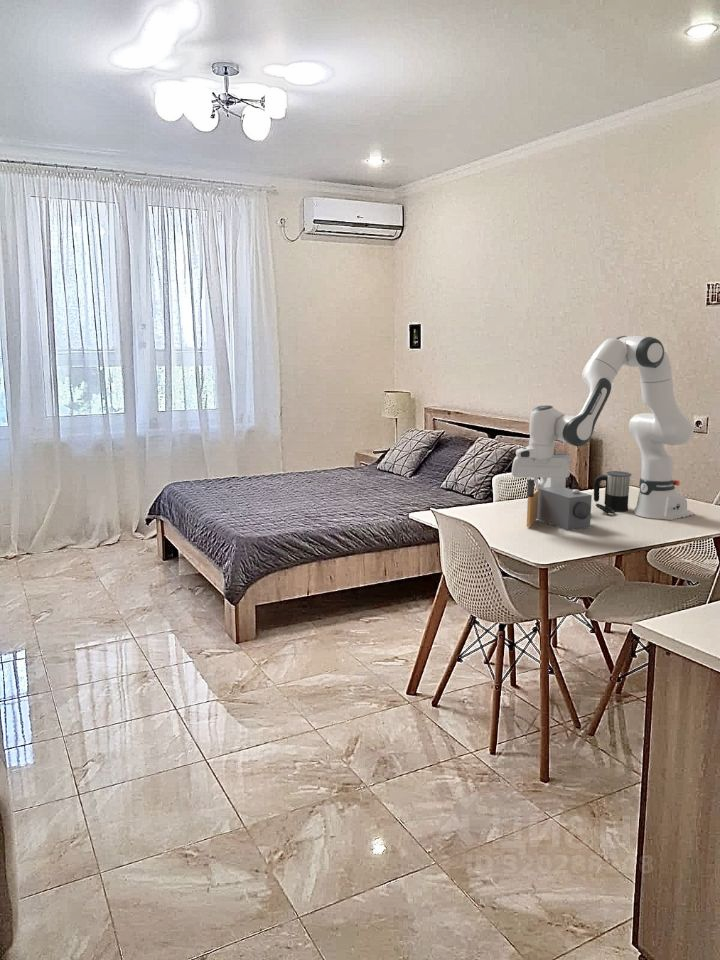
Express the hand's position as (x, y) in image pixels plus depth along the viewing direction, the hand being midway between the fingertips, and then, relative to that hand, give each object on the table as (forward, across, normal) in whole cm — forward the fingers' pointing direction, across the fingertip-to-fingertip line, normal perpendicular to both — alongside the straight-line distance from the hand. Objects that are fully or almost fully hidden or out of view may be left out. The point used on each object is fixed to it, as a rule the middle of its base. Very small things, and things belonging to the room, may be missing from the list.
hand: (539, 489), depth 274 cm
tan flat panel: (+14, +2, -5) cm, 15 cm away
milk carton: (+15, -8, -30) cm, 34 cm away
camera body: (+14, -10, -8) cm, 19 cm away
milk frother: (+15, -31, -29) cm, 45 cm away
